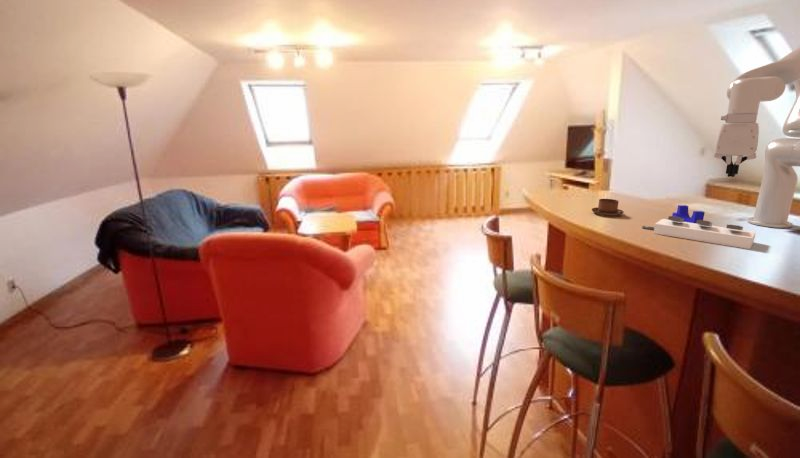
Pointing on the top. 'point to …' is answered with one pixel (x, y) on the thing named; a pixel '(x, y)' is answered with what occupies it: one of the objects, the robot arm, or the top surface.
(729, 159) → the robot arm
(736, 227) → the grey rectangular block
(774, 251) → the top surface
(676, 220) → the grey flat block
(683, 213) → the cable clip
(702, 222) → the block
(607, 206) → the cup and saucer
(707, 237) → the power strip
